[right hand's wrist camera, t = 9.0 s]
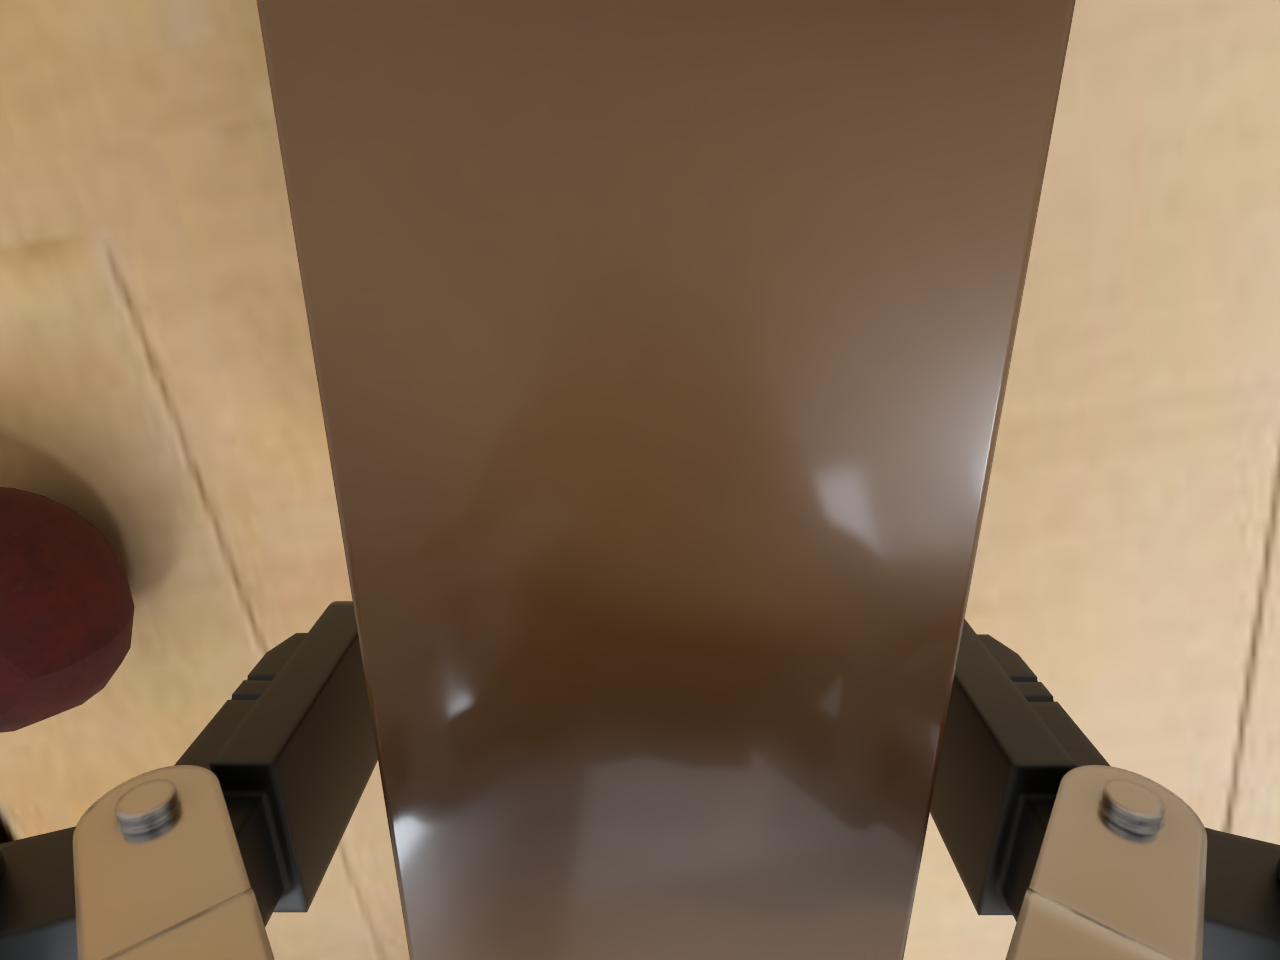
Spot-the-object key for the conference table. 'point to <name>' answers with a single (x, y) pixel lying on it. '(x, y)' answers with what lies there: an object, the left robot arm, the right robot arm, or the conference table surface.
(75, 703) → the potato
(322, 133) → the bar
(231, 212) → the conference table surface
